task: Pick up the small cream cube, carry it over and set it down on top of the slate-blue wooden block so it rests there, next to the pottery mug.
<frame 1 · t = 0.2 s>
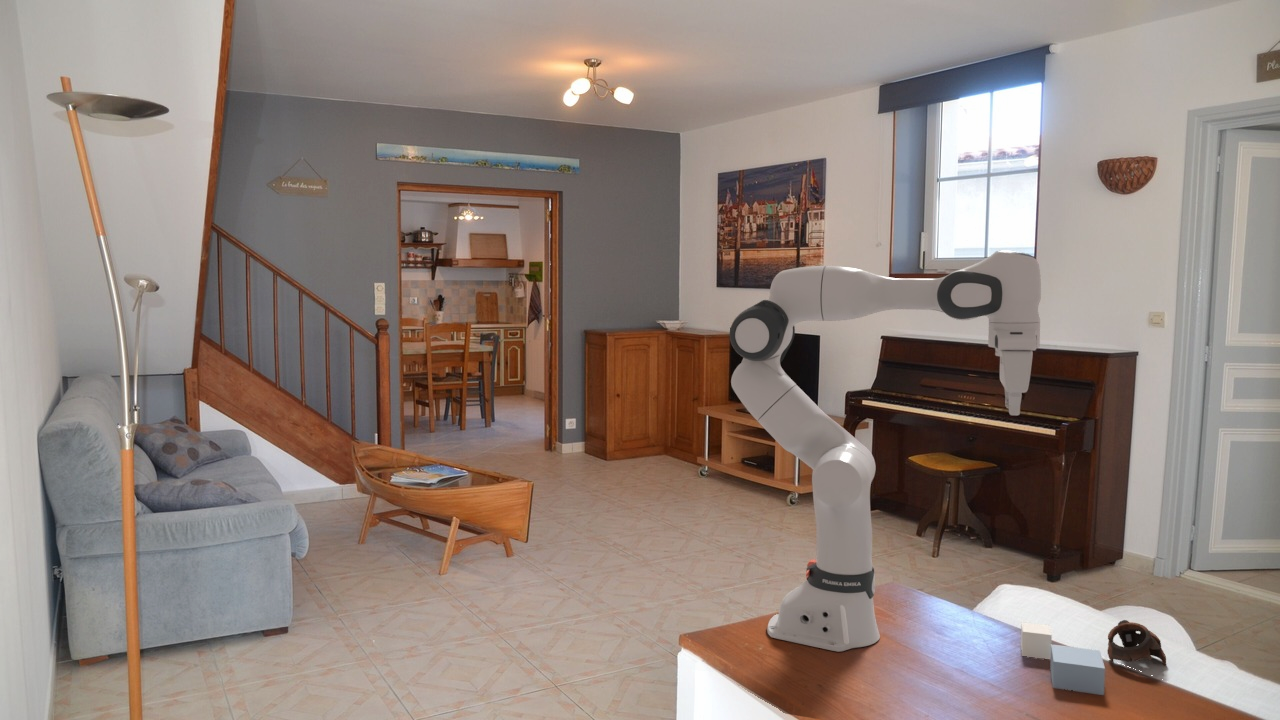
hand: (1012, 411, 163), 47 cm above the table, fingers open, 8 cm apart
cream cube: (1035, 653, 168), on the table
pottery mug: (1134, 661, 164), on the table
slate block: (1076, 683, 155), on the table
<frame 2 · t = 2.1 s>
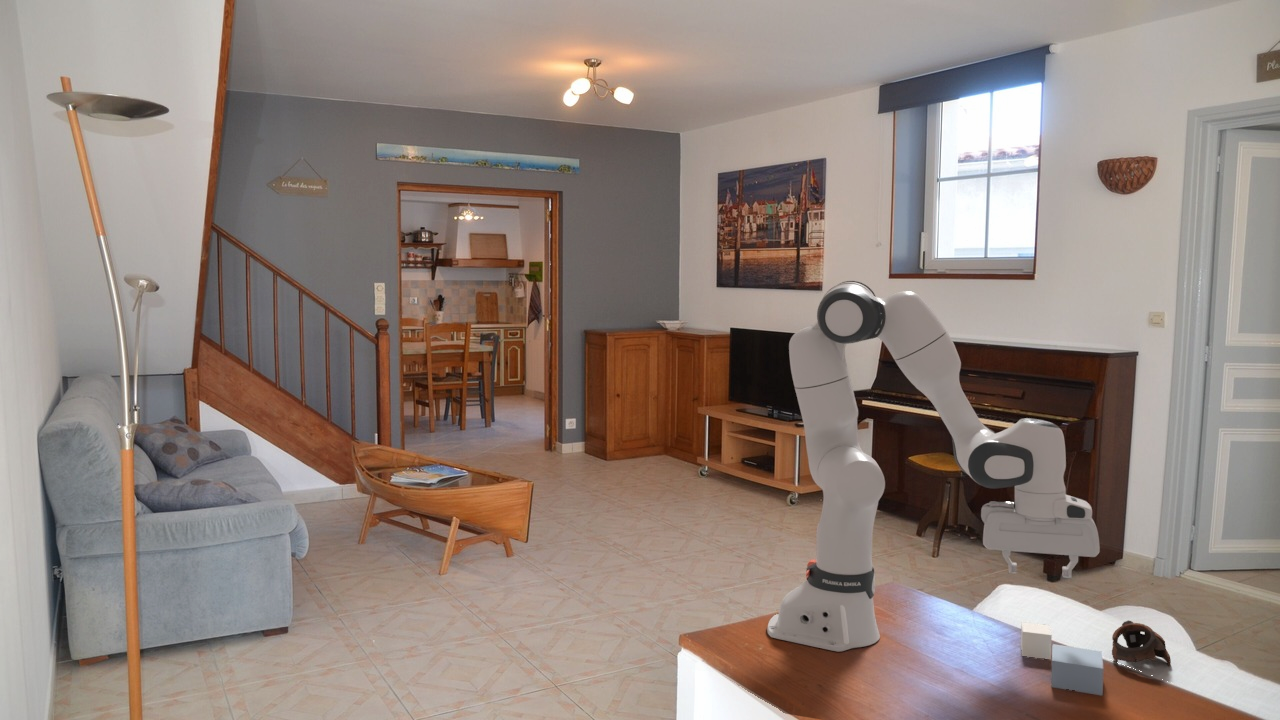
hand: (1039, 574, 167), 15 cm above the table, fingers open, 8 cm apart
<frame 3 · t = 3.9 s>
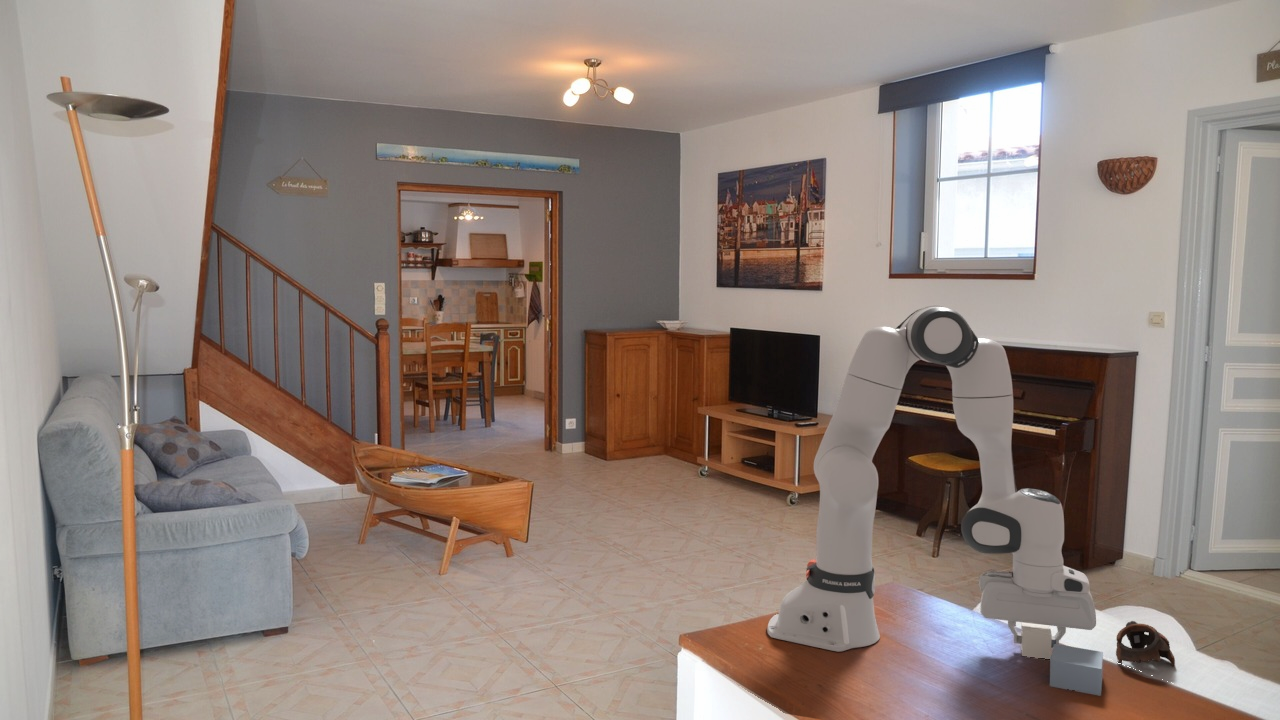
hand: (1035, 644, 168), 2 cm above the table, fingers closed on cream cube, 5 cm apart
cream cube: (1035, 653, 168), on the table, touching gripper
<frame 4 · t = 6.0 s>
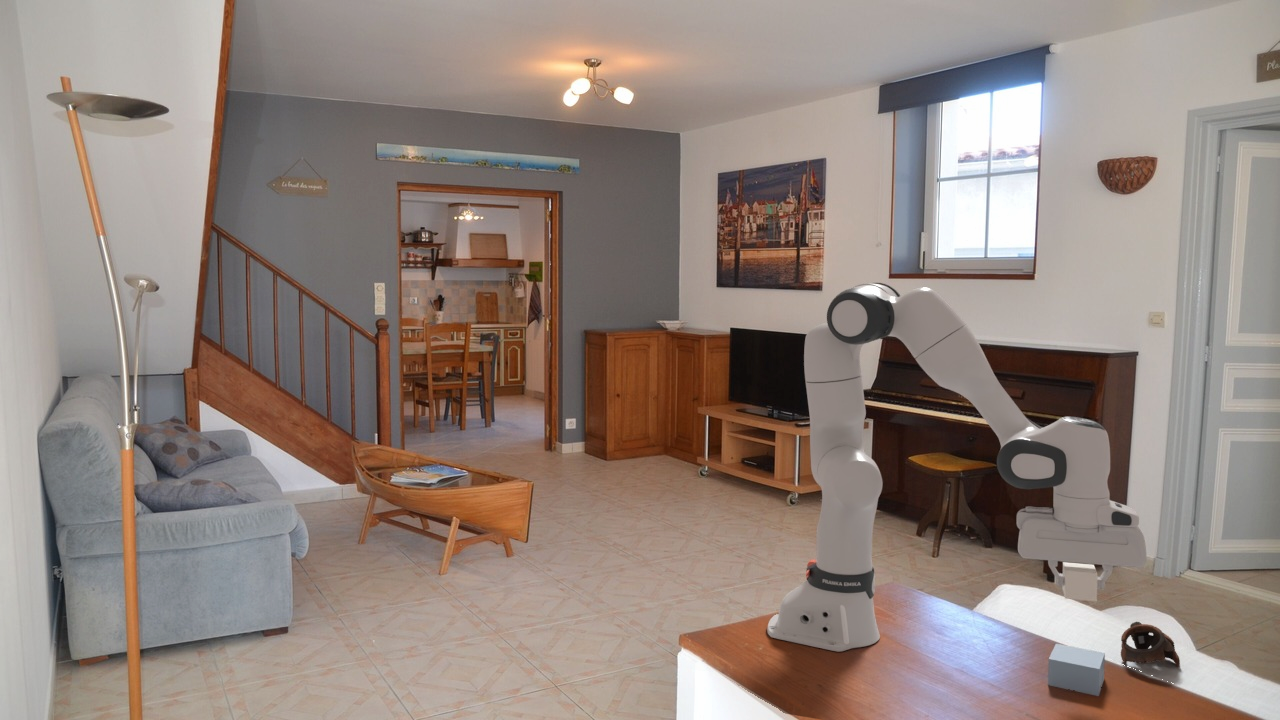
hand: (1079, 586, 154), 17 cm above the table, fingers closed on cream cube, 5 cm apart
cream cube: (1079, 595, 154), point 16 cm above the table, touching gripper
when the fingers open (8 cm above the table, at t = 8.2 s): cream cube drops 1 cm, resting on slate block.
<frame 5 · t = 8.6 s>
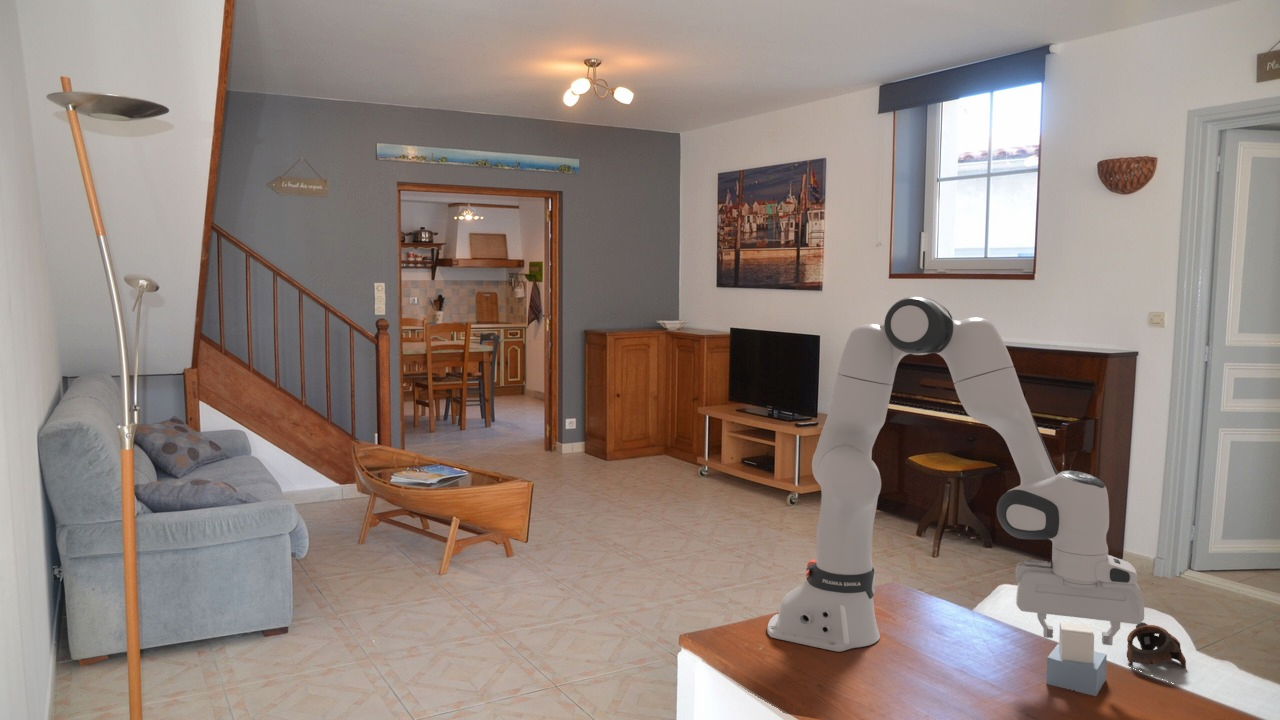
hand: (1077, 640, 155), 8 cm above the table, fingers open, 8 cm apart
cream cube: (1075, 655, 155), point 5 cm above the table, touching slate block
slate block: (1076, 683, 155), on the table, touching cream cube
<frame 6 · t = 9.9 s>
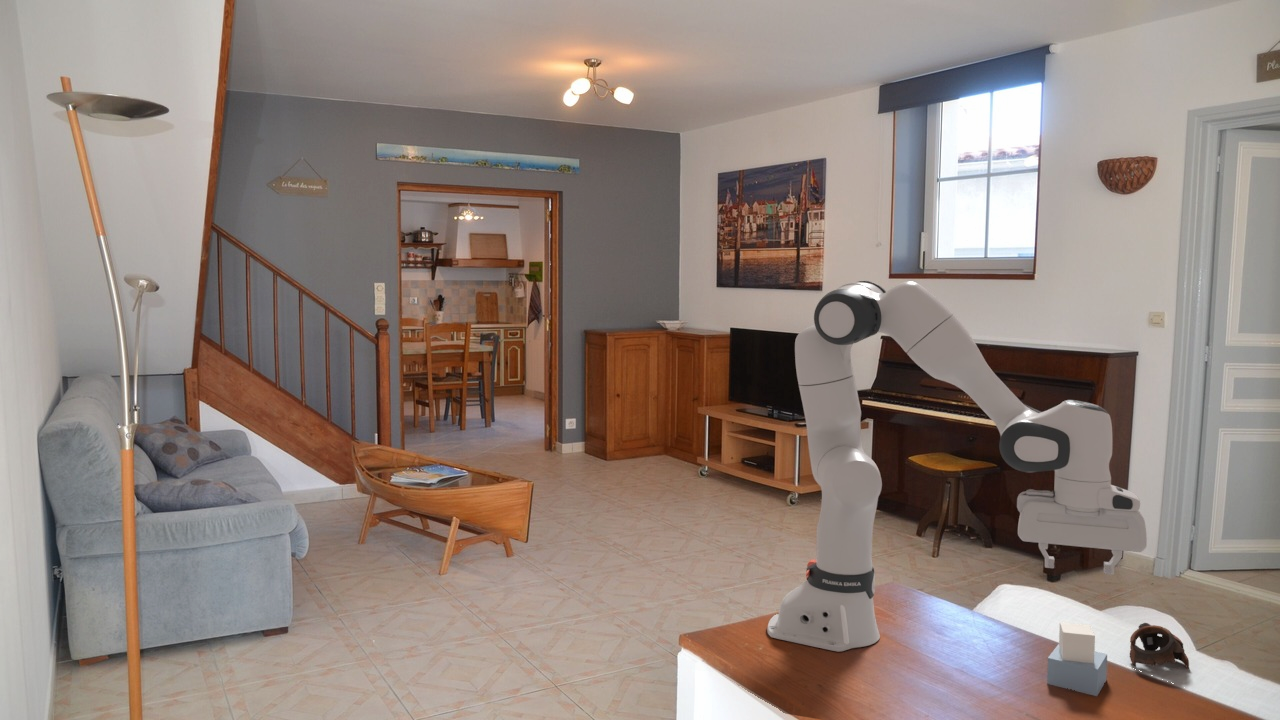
hand: (1078, 570, 154), 20 cm above the table, fingers open, 8 cm apart
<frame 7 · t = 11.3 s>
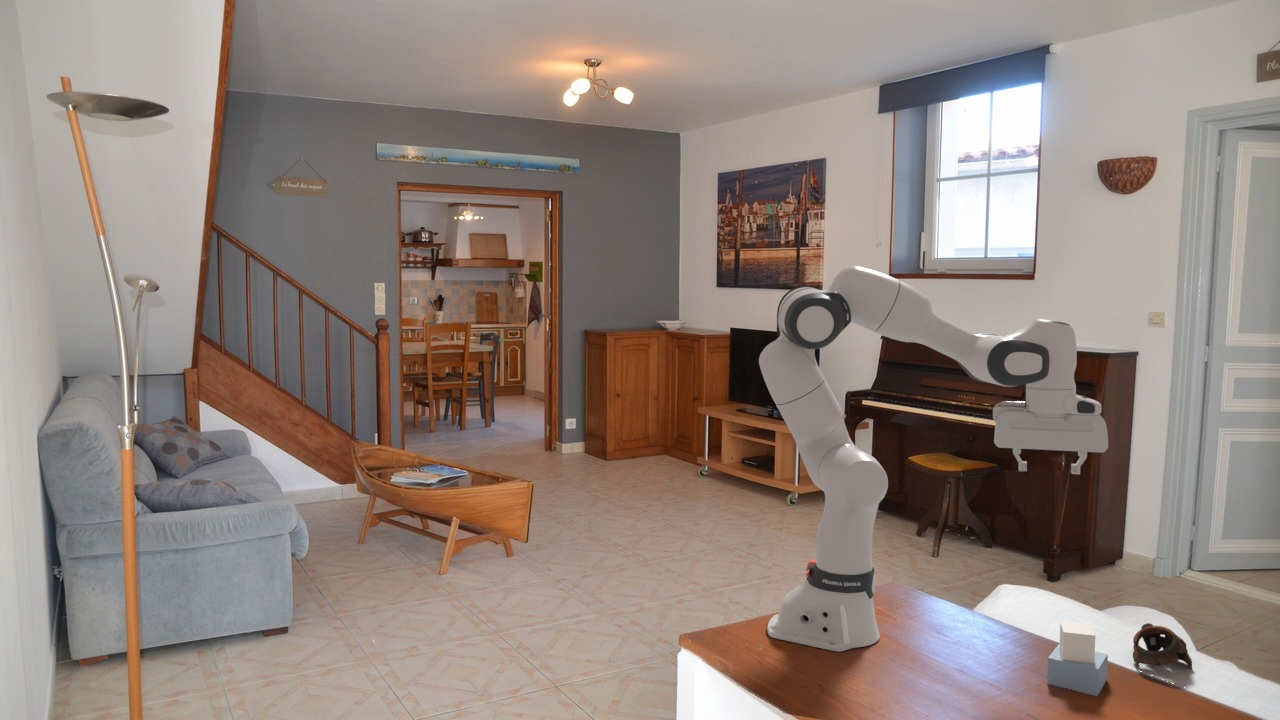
hand: (1048, 472, 171), 34 cm above the table, fingers open, 8 cm apart
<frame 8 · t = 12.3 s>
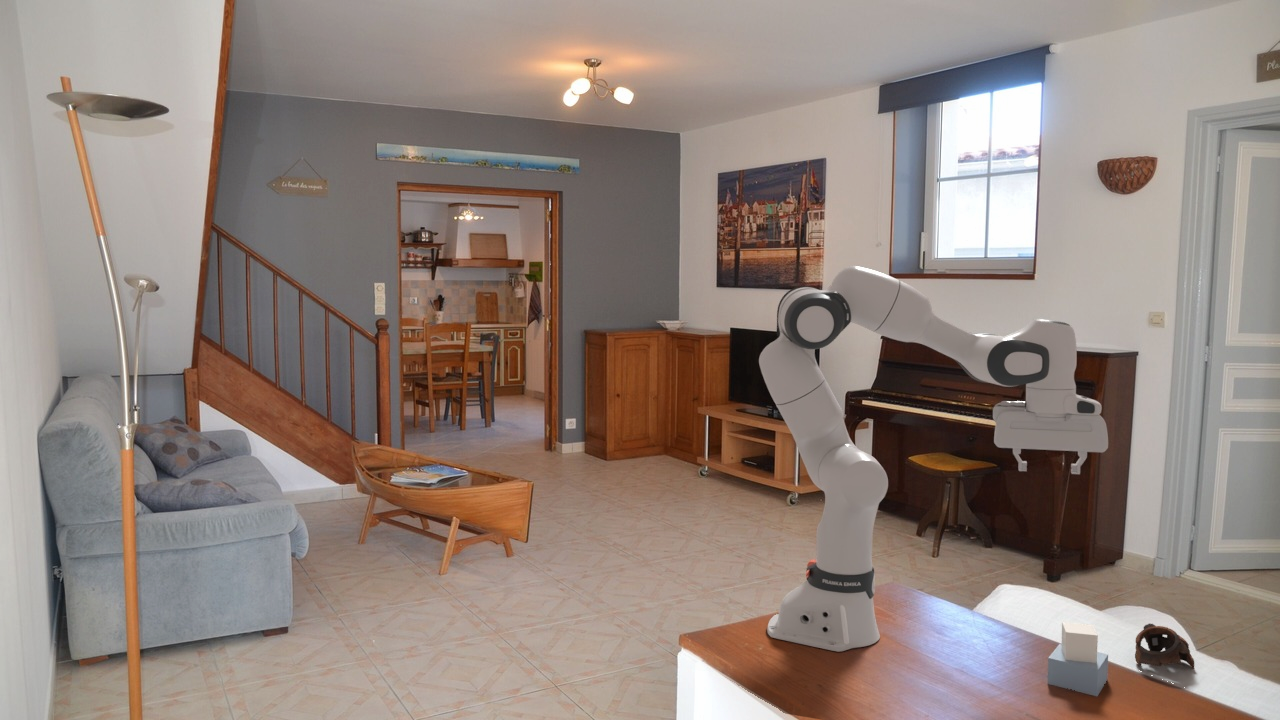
hand: (1048, 472, 171), 34 cm above the table, fingers open, 8 cm apart
cream cube: (1078, 655, 155), point 5 cm above the table
slate block: (1077, 683, 155), on the table
at the end: cream cube 0.1 cm off-centre on the slate block, point 5.0 cm above the slate block's base; cream cube tilted 0°; the gripper is holding nothing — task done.
